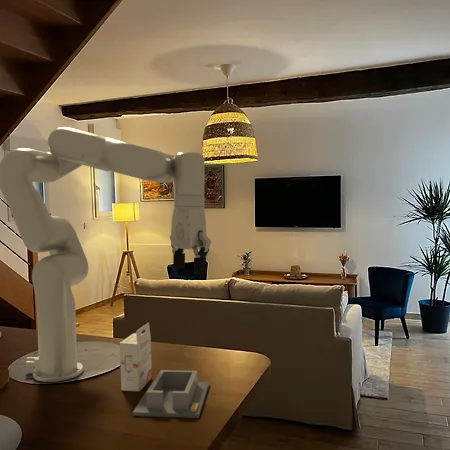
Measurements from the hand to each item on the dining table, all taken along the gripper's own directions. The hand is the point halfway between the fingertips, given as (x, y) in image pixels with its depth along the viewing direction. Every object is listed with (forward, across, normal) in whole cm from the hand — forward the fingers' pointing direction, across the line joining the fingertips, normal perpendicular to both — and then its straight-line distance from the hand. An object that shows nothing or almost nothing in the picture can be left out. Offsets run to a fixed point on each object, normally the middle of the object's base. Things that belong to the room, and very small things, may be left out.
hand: (189, 271), depth 113 cm
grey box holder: (+28, +8, -9) cm, 30 cm away
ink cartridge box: (+28, -6, -12) cm, 31 cm away
